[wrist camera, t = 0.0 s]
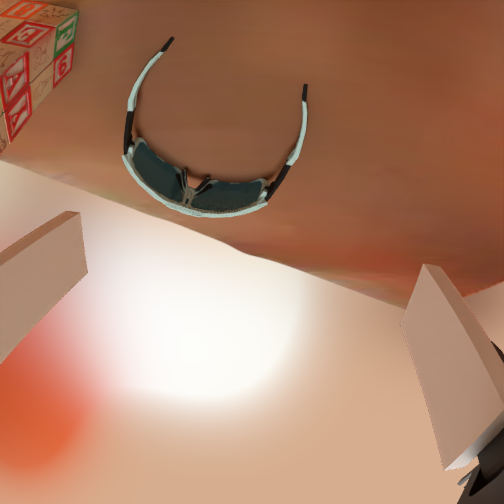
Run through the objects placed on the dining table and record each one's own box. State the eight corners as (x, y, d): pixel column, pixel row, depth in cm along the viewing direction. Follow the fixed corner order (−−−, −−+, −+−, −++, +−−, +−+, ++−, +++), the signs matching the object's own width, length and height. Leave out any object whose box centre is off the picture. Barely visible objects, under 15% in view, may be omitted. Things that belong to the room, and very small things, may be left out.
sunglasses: (130, 158, 30) (111, 192, 27) (157, 22, 18) (128, 42, 15) (259, 200, 33) (253, 238, 30) (330, 84, 22) (337, 114, 19)
